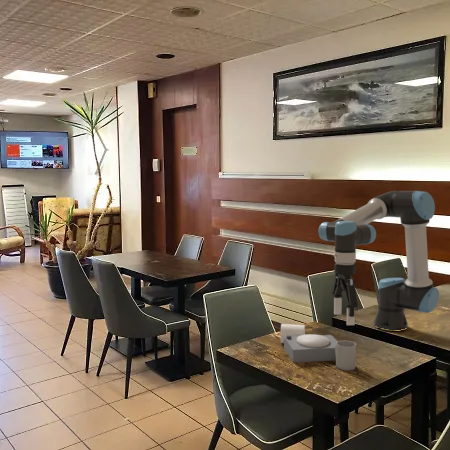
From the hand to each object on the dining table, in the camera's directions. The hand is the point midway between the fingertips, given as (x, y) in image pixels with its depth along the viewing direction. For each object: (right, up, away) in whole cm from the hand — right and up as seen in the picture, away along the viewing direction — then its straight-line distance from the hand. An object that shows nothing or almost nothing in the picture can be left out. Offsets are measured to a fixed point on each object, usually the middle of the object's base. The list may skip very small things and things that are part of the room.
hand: (343, 319), depth 181 cm
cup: (0, -18, +2) cm, 18 cm away
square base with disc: (-9, -17, +14) cm, 23 cm away
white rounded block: (-15, -15, +29) cm, 36 cm away
